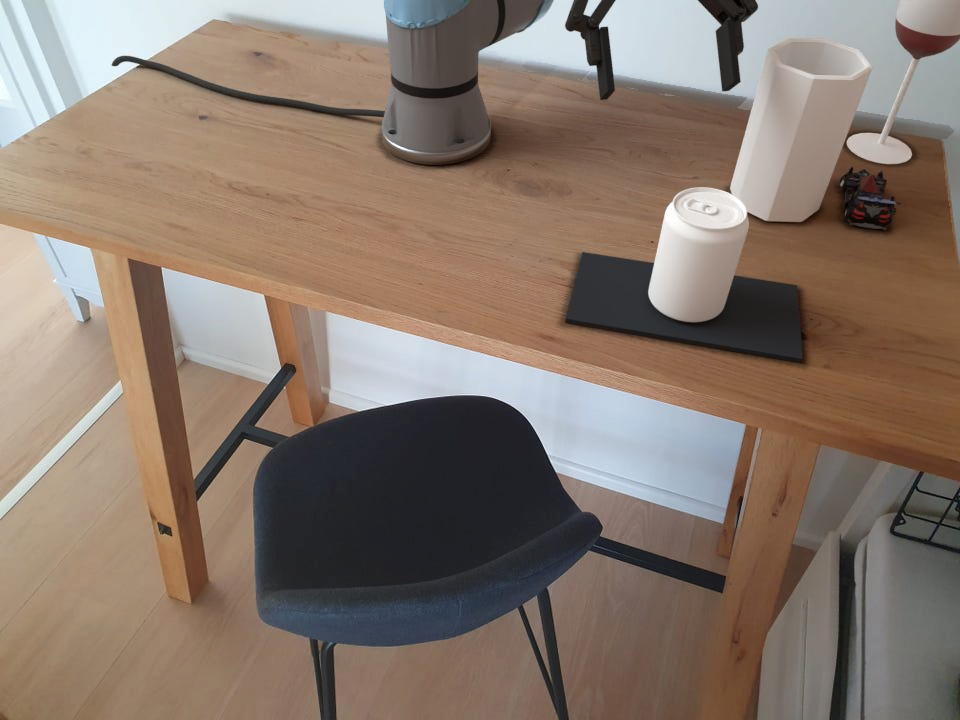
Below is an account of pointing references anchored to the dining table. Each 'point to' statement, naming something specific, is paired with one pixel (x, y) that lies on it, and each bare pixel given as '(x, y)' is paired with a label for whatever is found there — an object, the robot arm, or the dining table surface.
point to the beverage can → (698, 254)
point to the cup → (798, 127)
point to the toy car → (863, 190)
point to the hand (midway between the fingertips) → (670, 91)
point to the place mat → (739, 327)
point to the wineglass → (911, 67)
